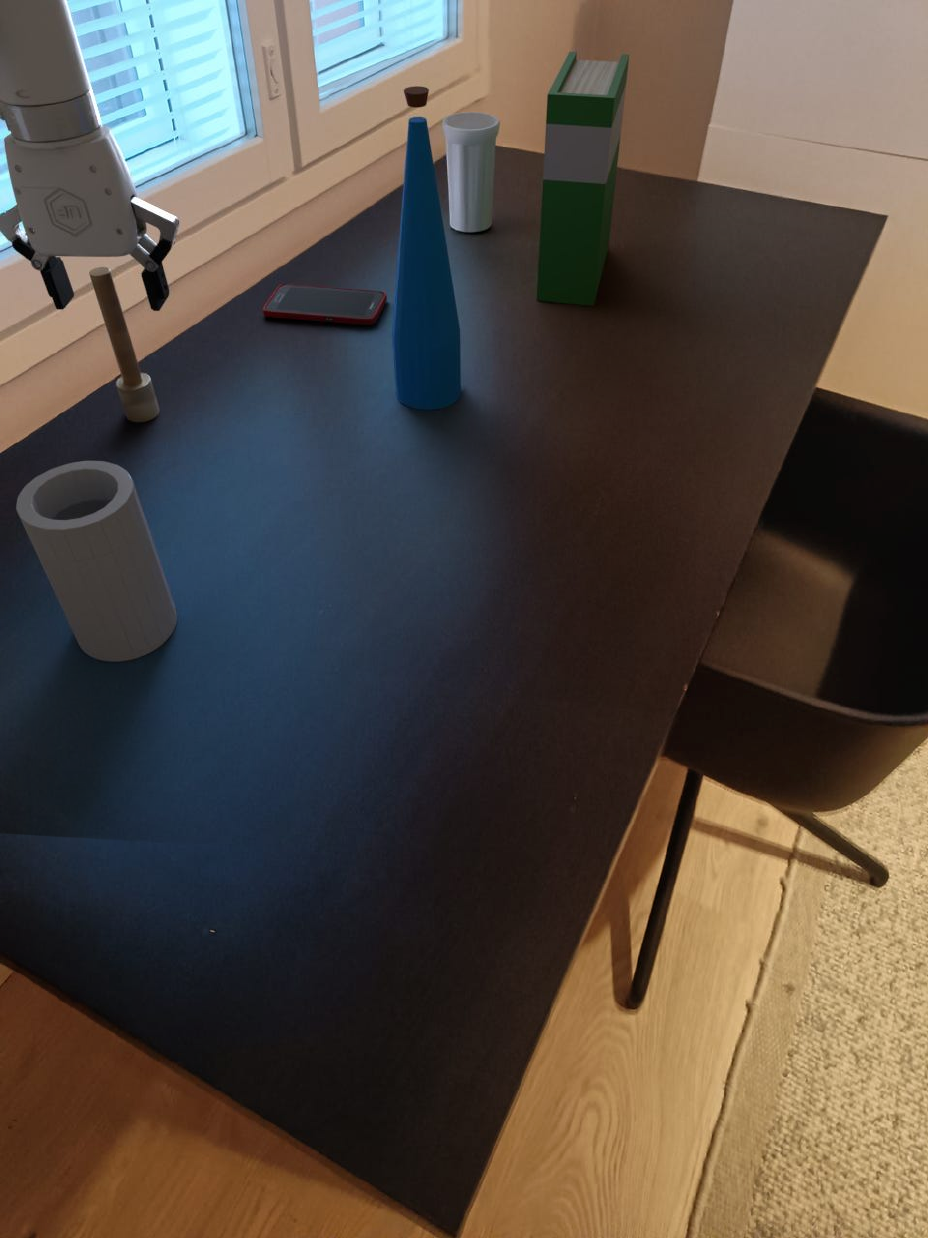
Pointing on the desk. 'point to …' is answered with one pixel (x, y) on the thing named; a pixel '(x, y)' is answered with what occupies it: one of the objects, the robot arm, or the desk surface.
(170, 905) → the desk surface
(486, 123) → the cup
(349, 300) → the cell phone
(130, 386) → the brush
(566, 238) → the hardback book
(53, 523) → the grey hollow tube
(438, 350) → the bottle
